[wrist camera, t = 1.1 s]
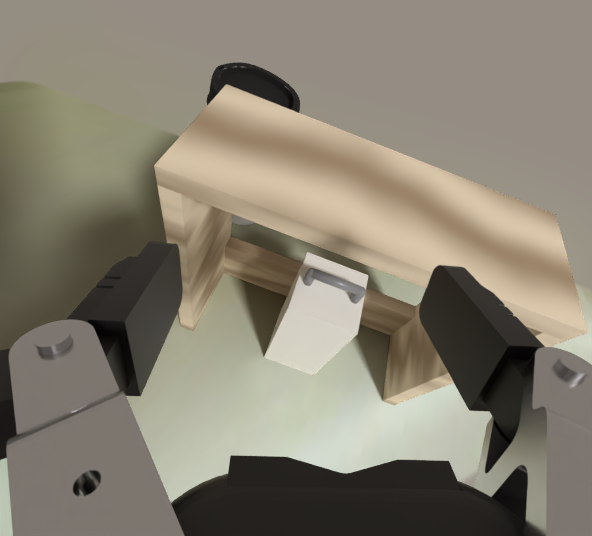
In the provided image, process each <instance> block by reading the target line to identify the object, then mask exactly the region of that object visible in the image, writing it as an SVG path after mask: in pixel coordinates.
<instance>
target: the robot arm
mask: <svg viewBox="0 0 592 536" xmlns="http://www.w3.org/2000/svg"><path fill="white" fill-rule="evenodd" d="M182 292H183V288H182V276H181V264H180V253H179V247H178V245H177V244H174V243H161V242H149V243H148V244H147V245H146V247H145V248H144V249H143V250H142V252H141V253H140V254H139V255H138V257H128V258H126V259H125V260H123V261H121V262H119V263H117V264H116V265H114V266H113V267H112V268H111V269H110V271H109V272H108V273H107V274H106V275H105V278H103V279H102V280H101V281H100V282H99V283H98V284H97V287H96V288H94V289H93V290H92V291H91V292H90V293H89V294H88V296H87V297H86V298H85V299H84V300H83V301H82V302H81V304H80V305H79V306H78V307H77V308H76V309H75V310H74V312H73V313H72V314H71V315H70V316H69V317H68V318H67V319H66V320H60V321H55V322H51V323H47V324H44V325H41V326H39V327H37V328H35V329H33V330H31V331H29V332H27V333H26V334H24V335H23V336H22V337H20V338H19V339H18V340H17V341H16V342H15V343H14V344H13V346H12V347H11V349H7V350H1V351H0V460H1V459H5V458H7V467H8V479H9V492H10V505H11V518H12V531H13V536H592V365H591V364H590V363H588V362H587V361H585V360H583V359H582V358H580V357H578V356H576V355H574V354H572V353H570V352H567V351H564V350H561V349H558V348H553V347H545V346H544V345H543V344H542V343H541V342H540V341H539V340H538V339H537V338H536V337H535V336H534V335H533V334H532V333H531V332H530V331H529V329H528V328H527V327H526V326H525V325H524V324H523V323H522V322H521V321H520V320H519V319H518V318H517V317H516V316H513V313H512V312H511V311H510V310H509V309H508V308H507V307H505V306H504V305H505V304H504V303H503V302H502V301H501V300H500V299H499V298H498V297H497V296H496V295H495V294H494V293H493V292H491V291H490V290H488V289H486V288H485V287H483V286H482V285H481V284H480V283H479V282H478V281H477V280H476V279H475V278H474V277H473V276H472V275H471V274H470V273H469V272H468V271H467V269H465V268H464V267H459V266H446V265H438V266H436V267H435V269H434V270H433V272H432V275H431V277H430V280H429V283H428V285H427V288H426V291H425V293H424V296H423V298H422V301H421V304H420V308H419V317H420V321H421V324H422V326H423V327H424V329H425V331H426V333H427V335H428V336H429V338H430V340H431V342H432V344H433V345H434V347H435V349H436V351H437V353H438V355H439V356H440V358H441V360H442V362H443V364H444V365H445V367H446V369H447V371H448V373H449V374H450V376H451V378H452V380H453V382H454V384H455V385H456V387H457V389H458V391H459V393H460V394H461V396H462V398H463V400H464V402H465V403H466V405H467V407H468V409H469V410H470V411H490V413H491V415H492V418H491V419H490V421H489V422H488V424H487V427H486V432H485V437H484V442H483V447H482V452H481V458H480V463H479V468H478V473H477V478H476V482H475V485H474V487H471V486H469V485H466V484H464V483H462V482H459V481H457V479H456V477H455V474H454V472H453V470H452V467H451V465H450V463H449V461H426V460H395V461H391V462H388V463H384V464H381V465H377V466H374V467H370V468H367V469H363V470H360V471H356V472H353V473H348V474H345V473H339V472H335V471H332V470H329V469H325V468H322V467H319V466H315V465H312V464H309V463H305V462H302V461H298V460H295V459H292V458H288V457H267V456H231V457H230V465H229V472H228V474H226V475H222V476H218V477H215V478H213V479H210V480H208V481H205V482H203V483H201V484H199V485H197V486H196V487H194V488H192V489H190V490H188V491H187V492H185V493H184V494H183V495H181V496H180V497H178V498H177V499H175V500H174V501H173V502H172V503H171V502H170V500H169V498H168V495H167V493H166V491H165V488H164V486H163V483H162V481H161V479H160V476H159V474H158V472H157V469H156V467H155V464H154V462H153V460H152V457H151V455H150V453H149V450H148V448H147V445H146V443H145V441H144V438H143V436H142V433H141V431H140V429H139V426H138V424H137V422H136V419H135V417H134V414H133V412H132V410H131V407H130V405H129V403H128V400H127V398H126V396H141V394H142V392H143V389H144V387H145V385H146V383H147V380H148V378H149V376H150V374H151V371H152V369H153V367H154V364H155V362H156V360H157V358H158V355H159V353H160V351H161V349H162V346H163V344H164V342H165V340H166V337H167V335H168V333H169V331H170V328H171V326H172V324H173V321H174V319H175V317H176V315H177V312H178V310H179V308H180V305H181V301H182Z"/></svg>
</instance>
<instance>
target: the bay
mask: <svg viewBox="0 0 592 536" xmlns="http://www.w3.org/2000/svg"><path fill="white" fill-rule="evenodd" d="M154 168H155V174H156V180H157V186H158V192H159V198H160V204H161V209H162V215H163V221H164V227H165V233H166V239H167V243H174V244H177V245H178V247H179V253H180V264H181V276H182V288H183V292H182V301H181V305H180V308H179V310H178V311H179V317H180V322H181V327H184V328H187V329H190V330H192V331H193V330H194V328H195V327H196V325H197V323H198V321H199V319H200V317H201V315H202V313H203V311H204V309H205V307H206V305H207V303H208V301H209V299H210V297H211V296H212V294H213V292H214V290H215V288H216V286H217V284H218V282H219V280H220V278H221V276H222V274H223V273H226V274H228V275H231V276H233V277H236V278H239V279H241V280H244V281H247V282H249V283H252V284H255V285H257V286H260V287H263V288H265V289H268V290H271V291H273V292H276V293H279V294H281V295H284V296H288V294H289V291H290V289H291V287H292V285H293V283H294V280H295V278H296V276H297V274H298V271H299V269H300V267H301V265H302V263H300V262H298V261H295V260H292V259H290V258H287V257H284V256H282V255H279V254H277V253H274V252H271V251H269V250H266V249H263V248H261V247H258V246H256V245H253V244H250V243H248V242H245V241H242V240H240V239H237V238H235V237H232V236H231V227H232V218H233V214H234V215H237V216H240V217H242V218H245V219H247V220H250V221H253V222H255V223H258V224H260V225H263V226H266V227H268V228H271V229H273V230H276V231H279V232H281V233H284V234H286V235H289V236H292V237H294V238H297V239H300V240H302V241H305V242H307V243H310V244H313V245H315V246H318V247H320V248H323V249H326V250H328V251H331V252H333V253H336V254H339V255H341V256H344V257H346V258H349V259H352V260H354V261H357V262H360V263H362V264H365V265H367V266H370V267H373V268H375V269H378V270H380V271H383V272H386V273H388V274H391V275H393V276H396V277H399V278H401V279H404V280H406V281H409V282H412V283H414V284H417V285H420V286H422V287H425V288H427V285H428V283H429V280H430V277H431V275H432V272H433V270H434V269H435V267H436V266H438V265H446V266H459V267H464V268H465V269H467V271H468V272H469V273H470V274H471V275H472V276H473V277H474V278H475V279H476V280H477V281H478V282H479V283H480V284H481V285H482V286H483V287H485V288H486V289H488V290H490V291H491V292H493V293H494V294H495V295H496V296H497V297H498V298H499V299H500V300H501V301H502V302H503V303H504V304H505V305H504V306H505V307H507V308H508V309H509V310H510V311H511V312H512V313H513V316H516V317H517V318H518V319H519V320H520V321H521V322H522V323H523V324H524V325H525V326H526V327H527V328H528V329H529V331H530V332H531V333H532V334H533V335H534V336H535V337H536V338H537V339H538V340H539V341H540V342H541V343H542V344H543V345H544V346H545V347H551V346H553V345H556V344H559V343H561V342H564V341H567V340H569V339H572V338H575V337H577V336H580V335H583V334H585V333H588V331H587V328H586V324H585V320H584V317H583V313H582V309H581V306H580V302H579V298H578V295H577V291H576V287H575V284H574V280H573V276H572V273H571V269H570V266H569V262H568V258H567V255H566V251H565V247H564V243H563V240H562V236H561V232H560V229H559V225H558V221H557V218H556V215H555V214H553V213H550V212H547V211H545V210H543V209H540V208H537V207H535V206H532V205H530V204H527V203H525V202H522V201H520V200H517V199H515V198H512V197H510V196H507V195H505V194H502V193H499V192H497V191H494V190H492V189H489V188H487V187H484V186H482V185H479V184H477V183H474V182H472V181H469V180H467V179H464V178H462V177H459V176H456V175H454V174H451V173H449V172H447V171H444V170H441V169H439V168H437V167H434V166H431V165H429V164H426V163H424V162H421V161H419V160H416V159H414V158H411V157H409V156H406V155H404V154H401V153H399V152H396V151H394V150H391V149H389V148H386V147H383V146H381V145H378V144H376V143H373V142H371V141H368V140H366V139H363V138H361V137H358V136H356V135H353V134H351V133H348V132H346V131H343V130H341V129H338V128H335V127H333V126H331V125H328V124H325V123H323V122H321V121H318V120H315V119H313V118H310V117H308V116H305V115H303V114H300V113H298V112H295V111H293V110H290V109H288V108H285V107H283V106H280V105H278V104H275V103H273V102H270V101H268V100H265V99H262V98H260V97H257V96H255V95H252V94H250V93H247V92H245V91H242V90H240V89H237V88H235V87H232V86H230V85H227V84H226V85H225V86H224V87H223V89H222V90H221V91H220V92H219V93H218V94H217V95H216V96H215V98H214V99H213V100H212V101H211V102H210V103H209V104H208V105H207V107H206V108H205V109H204V110H203V111H202V112H201V113H200V114H199V116H198V117H197V118H196V119H195V120H194V121H193V122H192V123H191V125H190V126H189V127H188V128H187V129H186V130H185V131H184V132H183V134H182V135H181V136H180V137H179V138H178V139H177V140H176V141H175V143H174V144H173V145H172V146H171V147H170V148H169V149H168V150H167V151H166V153H165V154H164V155H163V156H162V157H161V158H160V159H159V160H158V162H157V163H156V164H155V165H154ZM420 304H421V303H419V304H418V305H417V306H413V305H410V304H408V303H405V302H403V301H400V300H397V299H395V298H392V297H389V296H387V295H384V294H382V293H379V292H376V291H374V290H371V289H368V288H366V294H365V297H364V303H363V308H362V313H361V319H360V324H361V325H363V326H366V327H369V328H371V329H374V330H377V331H379V332H382V333H385V334H387V335H390V343H389V351H388V360H387V368H386V376H385V385H384V393H383V401H384V402H387V403H390V404H392V405H396V404H399V403H401V402H404V401H407V400H409V399H412V398H415V397H417V396H420V395H423V394H425V393H428V392H431V391H433V390H436V389H439V388H441V387H444V386H447V385H449V384H452V383H454V382H453V380H452V378H451V376H450V374H449V373H448V371H447V369H446V367H445V365H444V364H443V362H442V360H441V358H440V356H439V355H438V353H437V351H436V349H435V347H434V345H433V344H432V342H431V340H430V338H429V336H428V335H427V333H426V331H425V329H424V327H423V326H422V324H421V321H420V317H419V308H420Z"/></svg>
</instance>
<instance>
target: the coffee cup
mask: <svg viewBox="0 0 592 536" xmlns="http://www.w3.org/2000/svg"><path fill="white" fill-rule="evenodd" d="M226 84H227V85H230V86H232V87H235V88H237V89H240V90H242V91H245V92H247V93H250V94H252V95H255V96H257V97H260V98H262V99H265V100H268V101H270V102H273V103H275V104H278V105H280V106H283V107H285V108H288V109H290V110H293V111H295V112H298V113H299V110H300V100H299V97H298V95H297V93H296V92H295V90H294V89H293V88H292V87H291V86H289V84H287V83H286V82H285V81H283V80H282V79H281V78H279V77H278V76H276V75H274V74H272V73H271V72H269V71H267V70H264V69H262V68H260V67H257V66H255V65H251V64H247V63H229V64H224V65H220V66H218V67H217V68H216V70H215V71H214V73H213V75H212V79H211V85H210V92H209V94H208V97H207V105H208V104H209V103H210V102H211V101H212V100H213V99H214V98H215V96H216V95H217V94H218V93H219V92H220V91H221V90H222V89H223V87H224V86H225V85H226ZM232 223H234V224H238V225H250V224H254V223H255V222H253V221H250V220H247V219H245V218H242V217H240V216H237V215H234V214H233V218H232Z"/></svg>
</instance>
